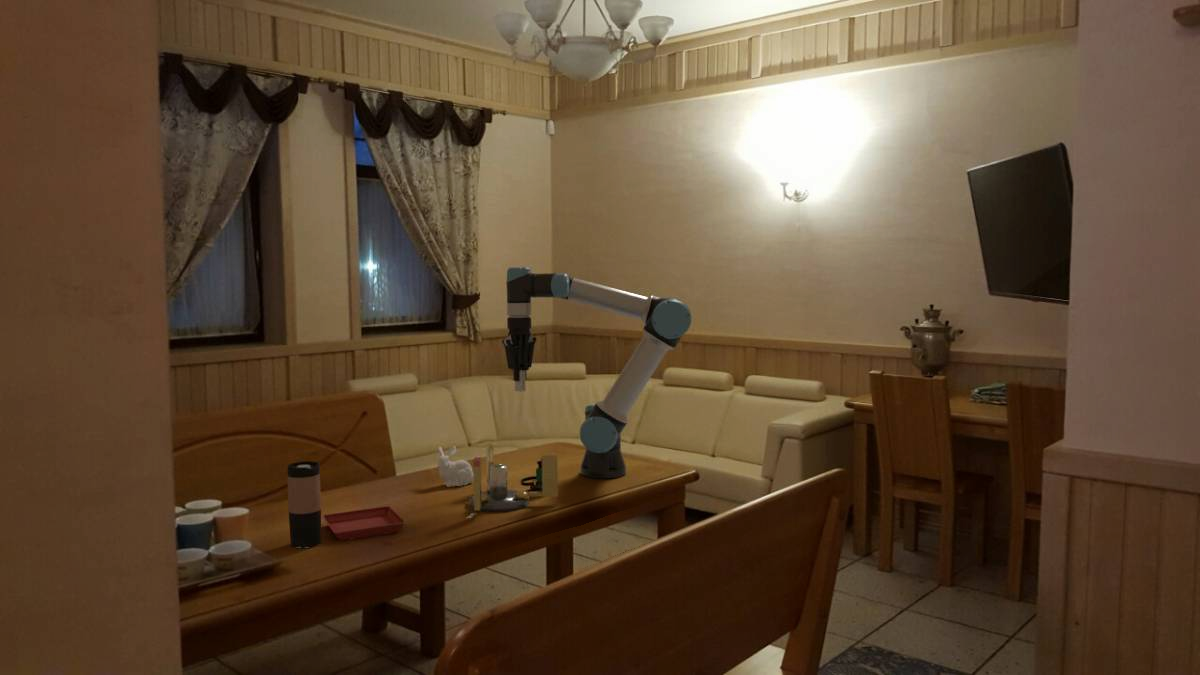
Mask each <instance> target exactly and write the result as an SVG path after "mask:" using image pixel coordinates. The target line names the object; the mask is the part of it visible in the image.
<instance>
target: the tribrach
mask: <svg viewBox="0 0 1200 675" xmlns="http://www.w3.org/2000/svg"><path fill="white" fill-rule="evenodd" d="M485 446H486V482H487V486H486V490H484V491H481V494H486V495H488V501H487V502H485V503H482V506H481V509H480V510H478V511H479V512H486V511H488V512H489V513H500V512H499V511H504V512H511V511H510V510H512V511H517V510H520V508H521V509H524V508H526V507H527V506H528V505H529V500H530V497H542V498H550V497H551V498H552V497H554V498H555V497H558V496H559V492H558V491H559V489H558V488H559V482H558V480H559V478H558V453H550V454H548V453H546V454H541V458H542V491H539V490H538V492H528V491H526V490H516V489H515V490H513V489H508V465H505V464H503V463H494V460H495V459H494V458H495V457H494V453H495V452H494V445H493V444H492V443H486V445H485ZM473 496H474V493H473V494H471V495H470V496H469V498H468V501H469V502H468V503H469V505H470V506H469V505H468V506H469V507H470V508H471V509H472V508H473V509H472V510H474V502H473ZM516 509H517V510H516ZM488 512H487V513H488ZM474 515H475V516H476V515H477V513H476V512H471V513H470V514H469V515H468V516H466V518H467V519H466V520H471V519H473V516H474ZM475 516H474V517H475ZM468 518H469V519H468Z"/></svg>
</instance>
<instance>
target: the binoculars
mask: <svg viewBox="0 0 1200 675" xmlns="http://www.w3.org/2000/svg"><path fill="white" fill-rule="evenodd" d="M536 464H537V466H538V467H537V468H535V473H536V474H535V476H534V475H533V476H527V477H524V478H522V479H520V486H525V487H529V489H525V491H528V492H538V491H542V457H541V458H540V460H538V461H536ZM527 481H531V482H527Z"/></svg>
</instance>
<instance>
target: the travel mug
mask: <svg viewBox="0 0 1200 675" xmlns="http://www.w3.org/2000/svg"><path fill="white" fill-rule="evenodd" d="M286 468H287V499H288V500H287V503H288V504H287V506H288V508H287V509H288V522H289V523H288V524H289V536H290V537H289V539H290V546H291V547H292V546H293V547H301V548H300V549H306V548H305V547H311V548H313V547H312V546H315V547H317V546H319V545H321V543H322V502H321V501H322V500H321V496H322V495H321V477H320V476H321V475H320V474H321V473H320V463H319V462H317V461H309V460H307V461H297V462H291V463H289V464H287V467H286ZM318 544H319V545H318ZM316 545H317V546H316ZM293 547H292V548H293Z"/></svg>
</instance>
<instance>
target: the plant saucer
mask: <svg viewBox="0 0 1200 675" xmlns="http://www.w3.org/2000/svg"><path fill="white" fill-rule="evenodd" d="M321 518H322V519H323V520H324V521H325V522H326V524H327V526H328V527H329V528H330V530H331V532H332V534H334V536H335V537H336V538H337V539H338V540H339V541H345V540H344V539H349V540H352V539H351V538H356V539H359V538H358V537H363V538H366V537H365V536H369V537H372V536H371V535H376V536H379V535H378V534H383V535H386V534H385V533H390V534H394V533H393V532H396V533H398V532H399V531H400V530H401V529H402V527H403V526H404V525H405V524H406V520H404V519H403V518H402V517H401V516H400V515H399V514H398V513H397V512H396V511H395V509H393V508H392V507H391V506H390V505H389V506H388V505H385V506H379V507H371V508H365V509H356V510H349V511H342V512H335V513H328V514H324V515H321Z"/></svg>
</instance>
